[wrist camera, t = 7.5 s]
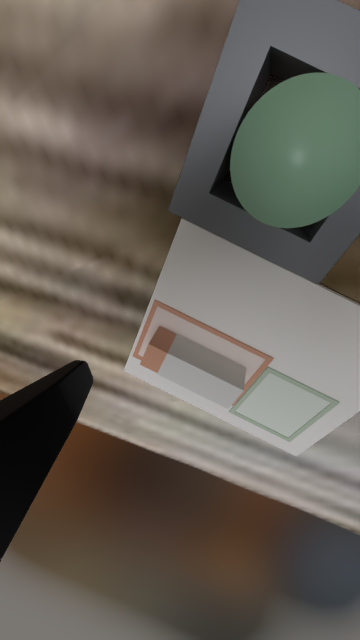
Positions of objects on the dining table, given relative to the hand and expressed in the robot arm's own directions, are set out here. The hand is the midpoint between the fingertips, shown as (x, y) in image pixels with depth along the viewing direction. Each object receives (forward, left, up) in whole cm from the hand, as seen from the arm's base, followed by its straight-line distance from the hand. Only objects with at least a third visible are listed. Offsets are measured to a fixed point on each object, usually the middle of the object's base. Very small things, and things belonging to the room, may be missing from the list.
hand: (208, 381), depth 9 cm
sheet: (-5, +7, -12) cm, 15 cm away
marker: (-1, +9, -11) cm, 15 cm away
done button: (+1, -6, -8) cm, 10 cm away
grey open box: (+1, -6, -12) cm, 13 cm away
